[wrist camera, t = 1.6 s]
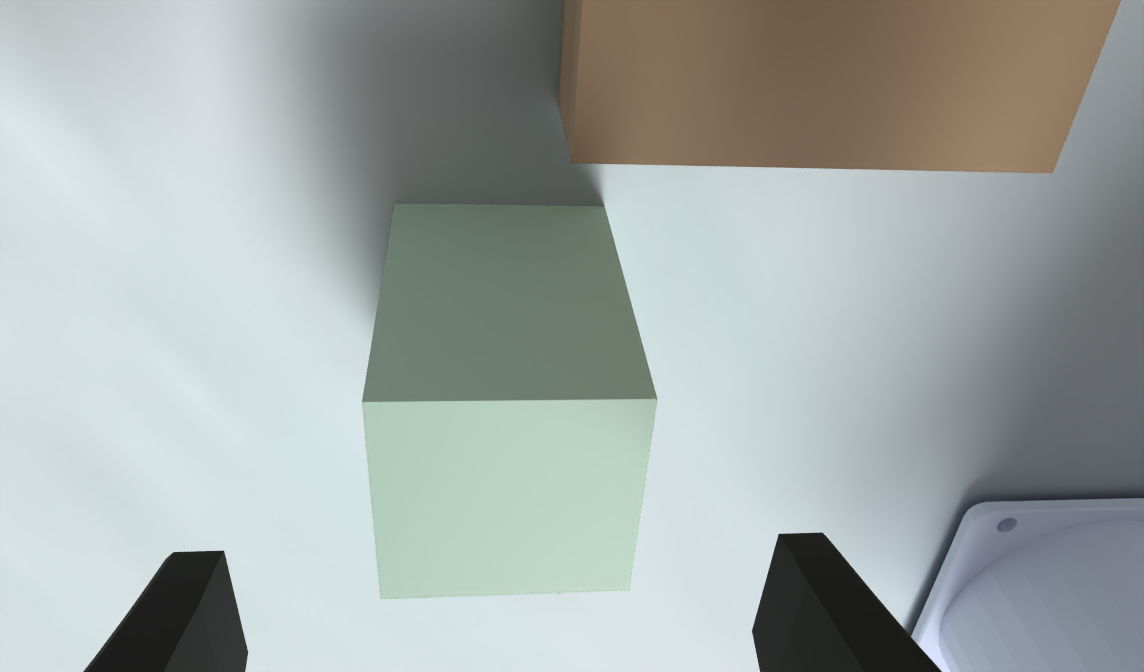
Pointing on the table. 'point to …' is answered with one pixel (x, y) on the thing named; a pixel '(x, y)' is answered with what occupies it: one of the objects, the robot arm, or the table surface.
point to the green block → (505, 404)
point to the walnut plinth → (827, 82)
